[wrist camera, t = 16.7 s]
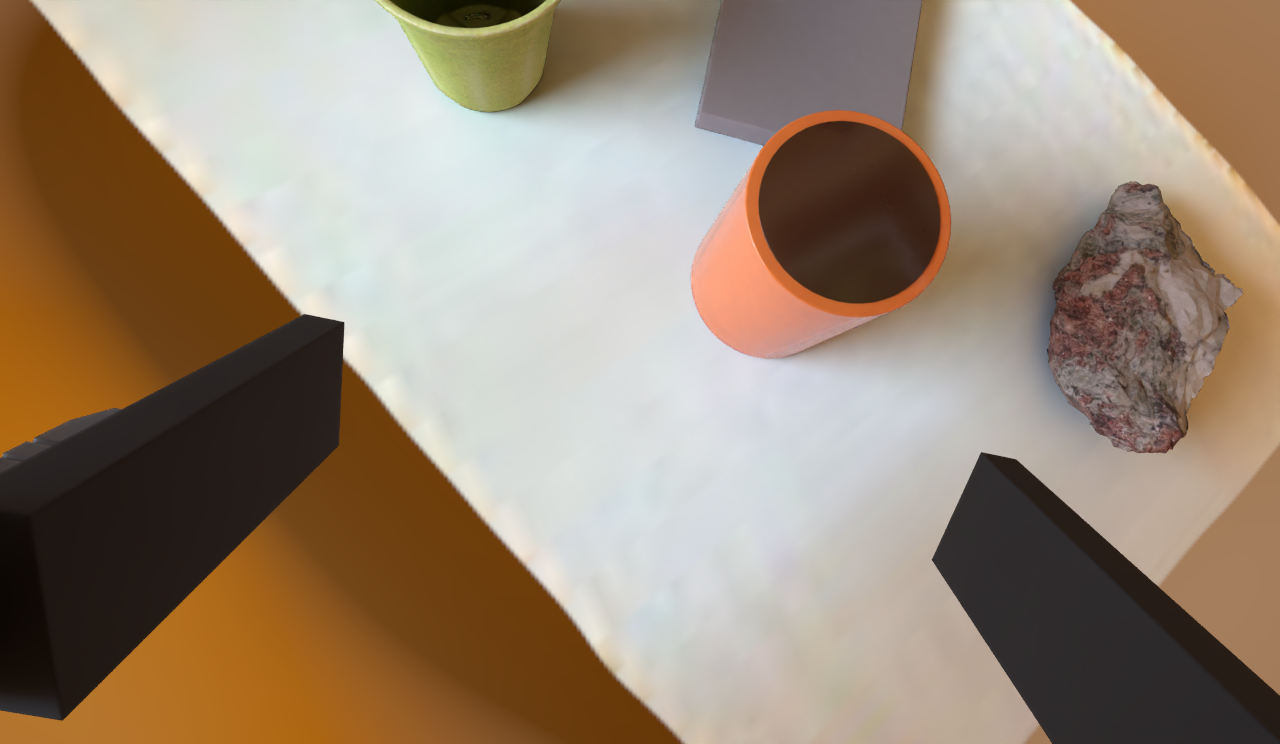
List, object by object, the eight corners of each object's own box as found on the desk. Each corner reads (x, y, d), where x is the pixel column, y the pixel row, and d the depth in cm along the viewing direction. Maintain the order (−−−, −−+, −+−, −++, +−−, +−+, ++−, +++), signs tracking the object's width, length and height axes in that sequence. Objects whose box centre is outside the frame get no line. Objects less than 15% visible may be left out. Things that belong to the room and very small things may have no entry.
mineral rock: (1087, 179, 37) (1157, 143, 33) (1200, 250, 37) (1284, 223, 33) (985, 396, 34) (1046, 387, 30) (1107, 470, 35) (1185, 472, 30)
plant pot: (557, -30, 35) (556, -189, 26) (592, 130, 34) (603, 19, 25) (381, -12, 33) (319, -174, 25) (413, 156, 32) (359, 47, 24)
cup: (676, 221, 33) (723, 123, 24) (819, 198, 35) (922, 96, 25) (709, 372, 33) (773, 335, 23) (855, 343, 34) (976, 296, 24)
